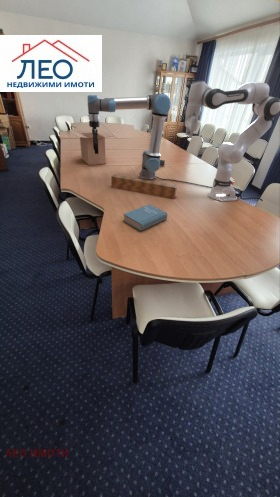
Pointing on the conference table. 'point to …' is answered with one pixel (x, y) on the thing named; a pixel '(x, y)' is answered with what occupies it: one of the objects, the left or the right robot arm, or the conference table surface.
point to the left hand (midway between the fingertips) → (95, 151)
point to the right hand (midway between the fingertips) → (188, 136)
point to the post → (143, 186)
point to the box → (88, 149)
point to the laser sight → (162, 162)
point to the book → (144, 217)
